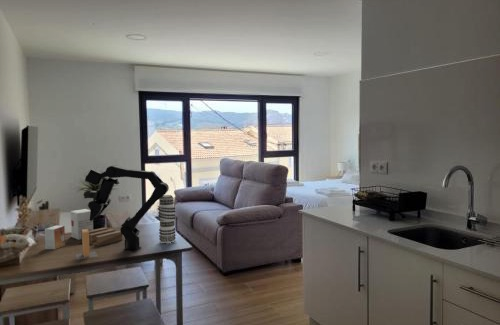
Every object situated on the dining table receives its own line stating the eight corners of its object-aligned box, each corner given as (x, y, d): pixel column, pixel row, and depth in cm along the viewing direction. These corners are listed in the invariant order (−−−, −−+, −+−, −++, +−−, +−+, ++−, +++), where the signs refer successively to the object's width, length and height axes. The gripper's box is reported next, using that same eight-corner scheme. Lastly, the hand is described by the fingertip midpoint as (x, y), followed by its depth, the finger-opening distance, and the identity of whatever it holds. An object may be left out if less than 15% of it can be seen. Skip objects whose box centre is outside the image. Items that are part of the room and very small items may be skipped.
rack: (122, 240, 204) (122, 231, 204) (99, 246, 193) (98, 237, 192) (105, 235, 213) (104, 227, 213) (81, 241, 202) (81, 232, 202)
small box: (54, 250, 188) (53, 229, 187) (45, 249, 189) (44, 228, 188) (65, 245, 196) (64, 225, 195) (56, 244, 197) (55, 225, 196)
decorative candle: (155, 243, 198) (154, 196, 196) (163, 238, 207) (162, 193, 205) (171, 244, 196) (170, 197, 194) (179, 239, 205) (177, 194, 203)
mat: (95, 252, 184) (95, 251, 184) (97, 257, 176) (97, 256, 176) (75, 255, 180) (75, 254, 180) (76, 260, 172) (76, 259, 172)
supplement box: (71, 237, 212) (69, 210, 210) (86, 233, 218) (85, 208, 217) (77, 240, 206) (76, 213, 204) (93, 236, 212) (92, 210, 211)
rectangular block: (88, 253, 181) (87, 228, 180) (89, 256, 176) (88, 231, 175) (83, 254, 180) (81, 229, 179) (84, 257, 175) (83, 232, 174)
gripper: (95, 181, 193) (83, 209, 193) (83, 185, 174) (70, 216, 174) (116, 189, 194) (104, 216, 194) (106, 194, 176) (93, 225, 176)
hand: (93, 218), depth 185 cm, fingers open, 9 cm apart
